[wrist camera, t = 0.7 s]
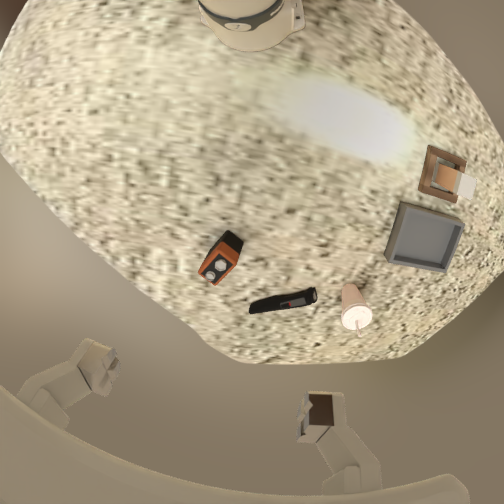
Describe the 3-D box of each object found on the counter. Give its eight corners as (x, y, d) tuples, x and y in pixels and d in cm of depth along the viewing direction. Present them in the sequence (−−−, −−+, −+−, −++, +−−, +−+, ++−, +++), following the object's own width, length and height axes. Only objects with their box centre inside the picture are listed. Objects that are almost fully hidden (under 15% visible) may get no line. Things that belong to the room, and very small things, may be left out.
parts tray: (400, 201, 47) (407, 207, 44) (457, 218, 46) (465, 224, 43) (383, 254, 53) (388, 262, 50) (439, 265, 52) (445, 272, 49)
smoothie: (330, 296, 59) (338, 340, 47) (344, 274, 56) (357, 316, 44) (353, 304, 59) (365, 348, 47) (368, 283, 56) (384, 326, 44)
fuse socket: (428, 145, 41) (432, 146, 39) (461, 159, 40) (466, 161, 39) (417, 189, 45) (422, 192, 44) (451, 200, 45) (456, 203, 43)
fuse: (435, 161, 42) (462, 172, 33) (450, 167, 42) (477, 179, 33) (431, 180, 44) (456, 194, 35) (445, 185, 44) (471, 200, 35)
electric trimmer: (248, 298, 62) (246, 306, 60) (314, 285, 58) (315, 293, 56) (253, 310, 64) (251, 319, 61) (317, 298, 60) (318, 307, 57)
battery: (244, 242, 55) (236, 267, 47) (224, 263, 58) (213, 290, 49) (228, 228, 54) (216, 251, 46) (208, 250, 57) (194, 275, 48)
